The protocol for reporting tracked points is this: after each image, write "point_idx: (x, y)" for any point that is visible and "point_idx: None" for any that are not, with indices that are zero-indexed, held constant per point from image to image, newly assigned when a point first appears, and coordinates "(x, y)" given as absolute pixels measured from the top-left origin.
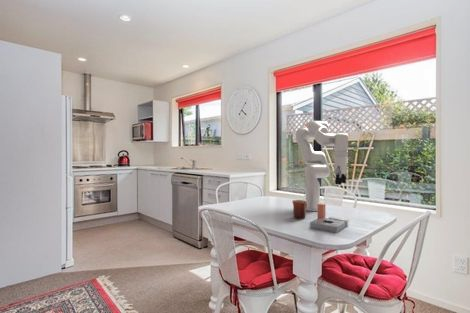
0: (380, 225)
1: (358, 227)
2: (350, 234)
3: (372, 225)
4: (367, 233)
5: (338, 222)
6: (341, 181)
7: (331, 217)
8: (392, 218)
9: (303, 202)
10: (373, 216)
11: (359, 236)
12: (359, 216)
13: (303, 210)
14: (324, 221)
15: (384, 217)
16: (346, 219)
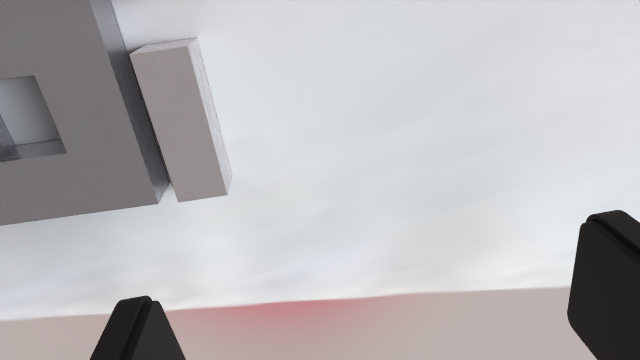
0: (385, 291)
1: (233, 236)
2: (40, 268)
3: (351, 267)
4: None
5: (75, 184)
6: (600, 268)
7: (172, 67)
8: None
9: None
10: (629, 183)
11: (55, 308)
12: (573, 115)
13: None
14: (20, 75)
15: None
16: (217, 184)
